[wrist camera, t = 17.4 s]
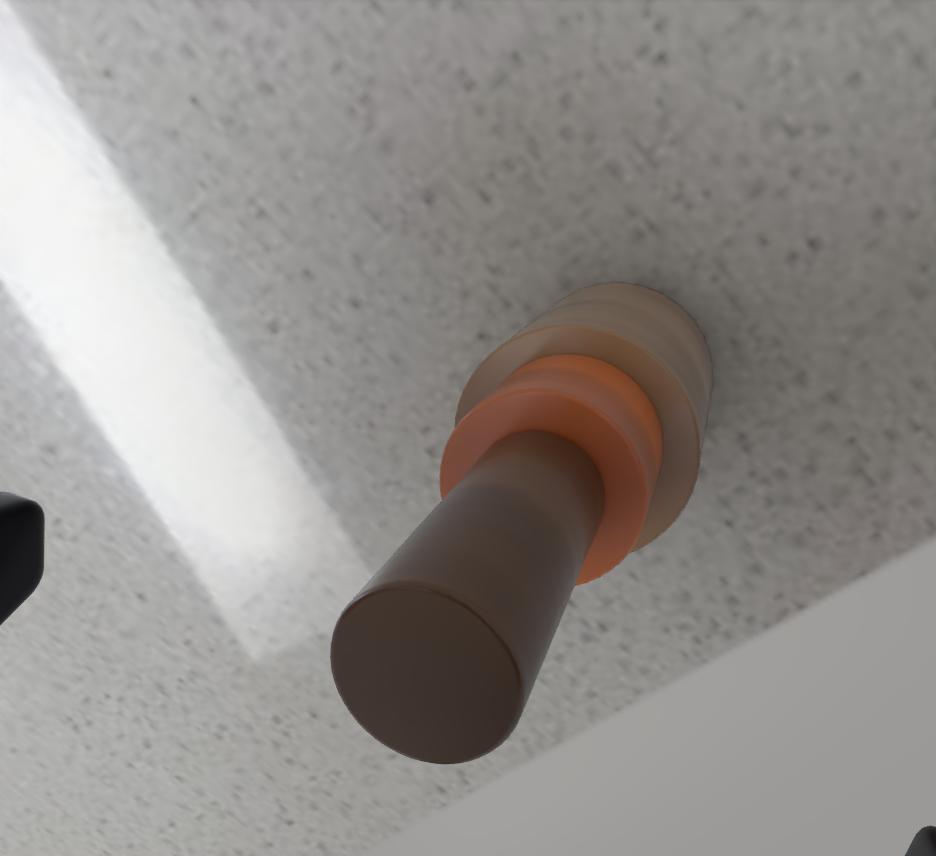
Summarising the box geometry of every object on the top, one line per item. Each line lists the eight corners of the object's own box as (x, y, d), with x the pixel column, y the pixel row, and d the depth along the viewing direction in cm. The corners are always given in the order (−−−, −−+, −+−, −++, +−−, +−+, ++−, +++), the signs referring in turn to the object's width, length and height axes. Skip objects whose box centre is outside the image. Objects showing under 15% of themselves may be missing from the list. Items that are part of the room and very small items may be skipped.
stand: (702, 475, 20) (686, 580, 15) (521, 452, 21) (450, 542, 16) (723, 289, 19) (714, 336, 14) (529, 276, 20) (455, 315, 15)
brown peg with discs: (655, 538, 15) (576, 853, 8) (481, 512, 16) (281, 777, 9) (672, 362, 14) (599, 552, 7) (486, 345, 15) (266, 501, 8)
